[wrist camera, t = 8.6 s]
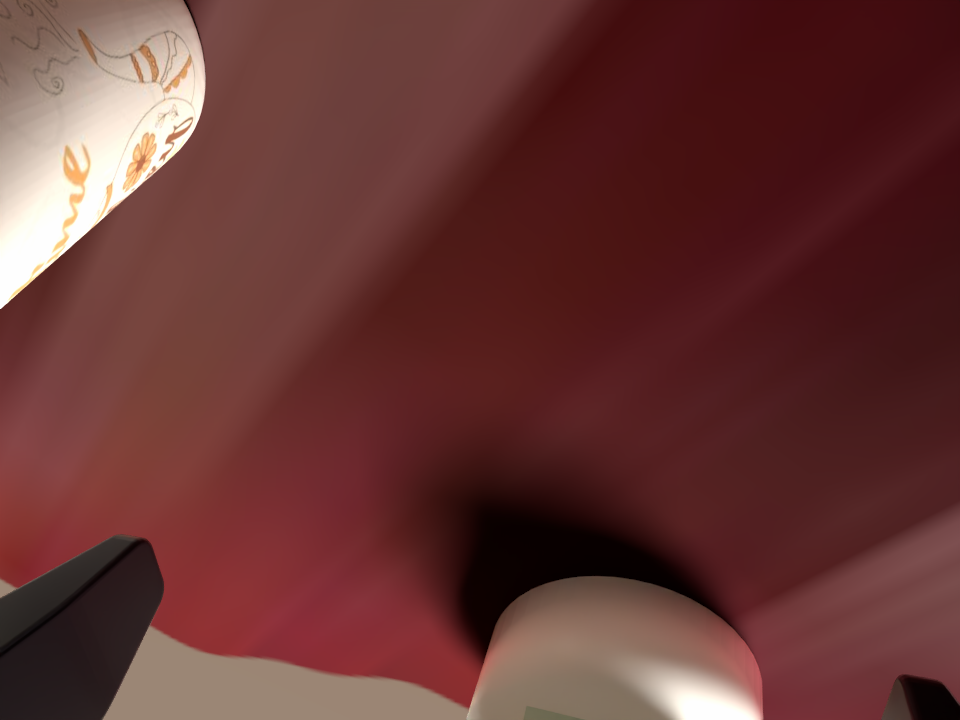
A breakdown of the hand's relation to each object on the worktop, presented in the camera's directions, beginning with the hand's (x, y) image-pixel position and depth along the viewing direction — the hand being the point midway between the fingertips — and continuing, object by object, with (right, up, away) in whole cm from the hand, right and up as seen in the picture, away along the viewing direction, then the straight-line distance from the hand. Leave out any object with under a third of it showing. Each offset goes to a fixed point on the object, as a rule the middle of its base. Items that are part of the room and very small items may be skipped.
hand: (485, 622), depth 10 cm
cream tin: (+5, -7, +18) cm, 20 cm away
